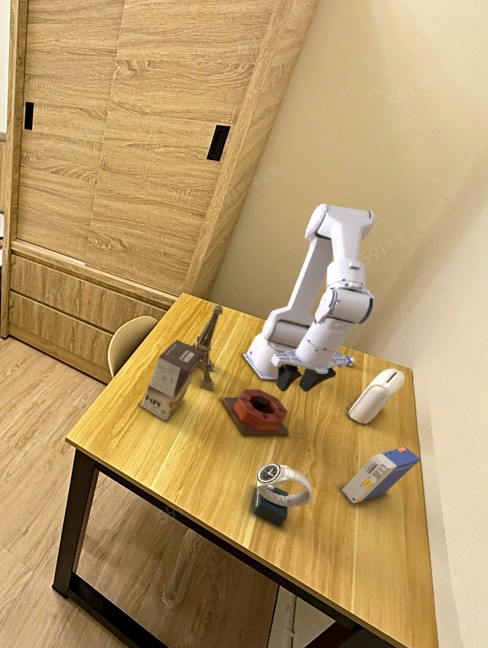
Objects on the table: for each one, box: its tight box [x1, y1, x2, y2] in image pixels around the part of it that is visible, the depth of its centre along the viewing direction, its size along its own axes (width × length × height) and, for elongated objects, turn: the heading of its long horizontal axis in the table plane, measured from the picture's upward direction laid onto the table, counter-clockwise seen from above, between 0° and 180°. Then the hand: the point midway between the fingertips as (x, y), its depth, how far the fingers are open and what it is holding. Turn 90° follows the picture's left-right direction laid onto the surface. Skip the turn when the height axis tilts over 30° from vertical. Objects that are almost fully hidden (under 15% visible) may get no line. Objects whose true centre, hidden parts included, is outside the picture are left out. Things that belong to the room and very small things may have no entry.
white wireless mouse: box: [347, 367, 406, 425], centre depth 93 cm, size 10×4×12 cm, turn 123°
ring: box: [233, 388, 288, 431], centre depth 92 cm, size 9×9×3 cm
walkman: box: [341, 446, 421, 504], centre depth 76 cm, size 8×3×12 cm, turn 105°
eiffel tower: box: [190, 293, 226, 392], centre depth 99 cm, size 11×11×25 cm
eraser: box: [335, 351, 356, 367], centre depth 110 cm, size 2×6×2 cm, turn 54°
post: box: [221, 397, 290, 437], centre depth 92 cm, size 10×10×6 cm
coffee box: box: [140, 339, 203, 421], centre depth 92 cm, size 9×6×16 cm
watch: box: [252, 461, 313, 527], centre depth 73 cm, size 6×8×11 cm
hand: (291, 388), depth 89 cm, fingers open, 4 cm apart
